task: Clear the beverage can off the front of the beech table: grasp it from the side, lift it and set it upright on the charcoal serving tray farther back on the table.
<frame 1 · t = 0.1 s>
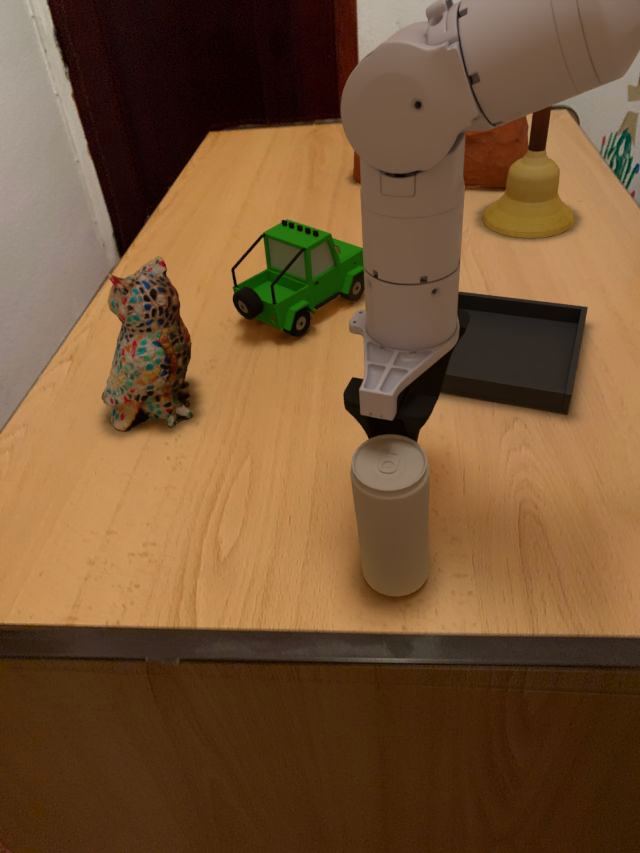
hand: (409, 432, 48), 8 cm above the table, tool pointing down, fingers open, 7 cm apart
toy car: (302, 312, 77), on the table
tray: (497, 354, 67), on the table
beverage can: (395, 572, 48), on the table, touching gripper
figurine: (160, 406, 65), on the table
handbell: (527, 219, 90), on the table
bread: (439, 172, 105), on the table
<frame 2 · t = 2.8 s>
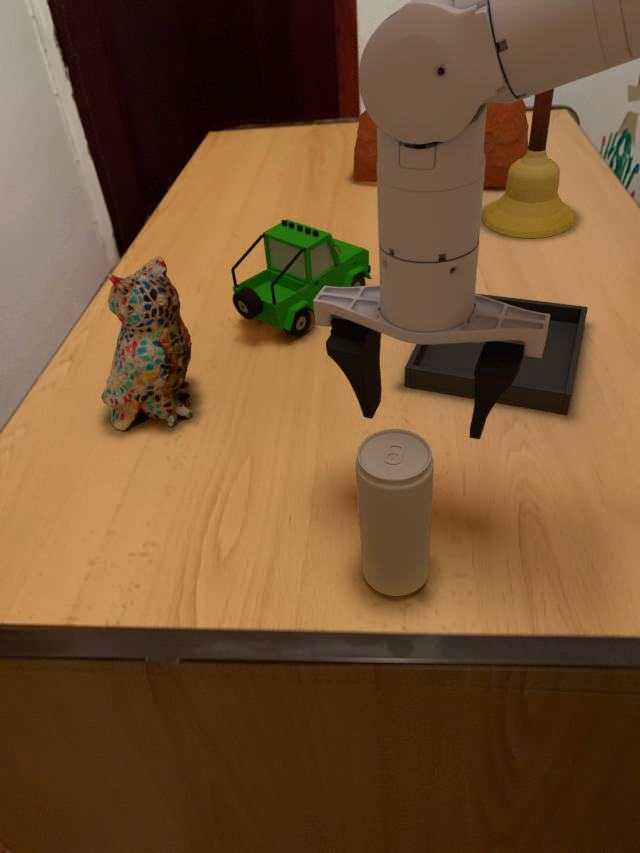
hand: (423, 419, 47), 9 cm above the table, tool pointing down, fingers open, 7 cm apart
beverage can: (395, 574, 48), on the table
everything else where it was.
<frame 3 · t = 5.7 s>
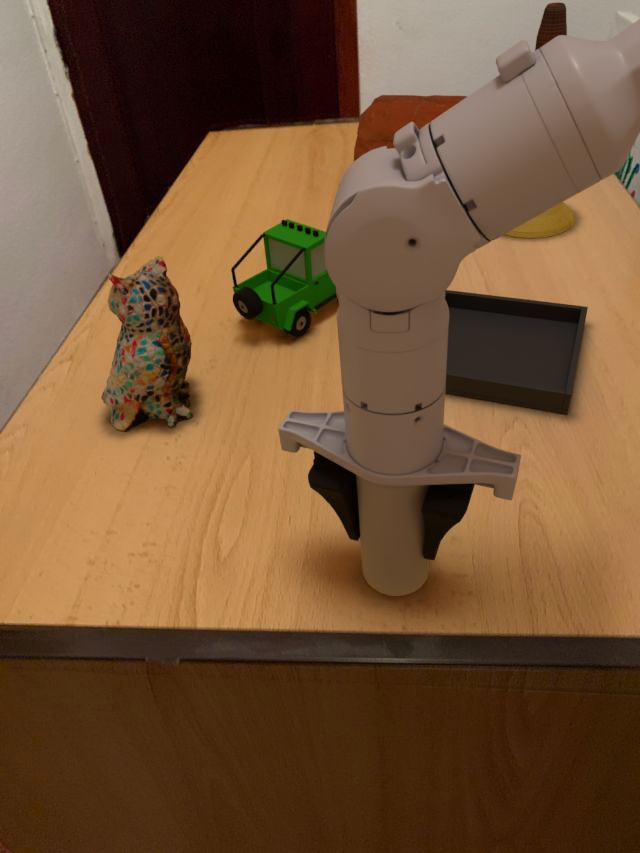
hand: (395, 539, 45), 4 cm above the table, tool pointing down, fingers closed on beverage can, 5 cm apart
beverage can: (395, 574, 48), on the table, touching gripper
everything else where it was.
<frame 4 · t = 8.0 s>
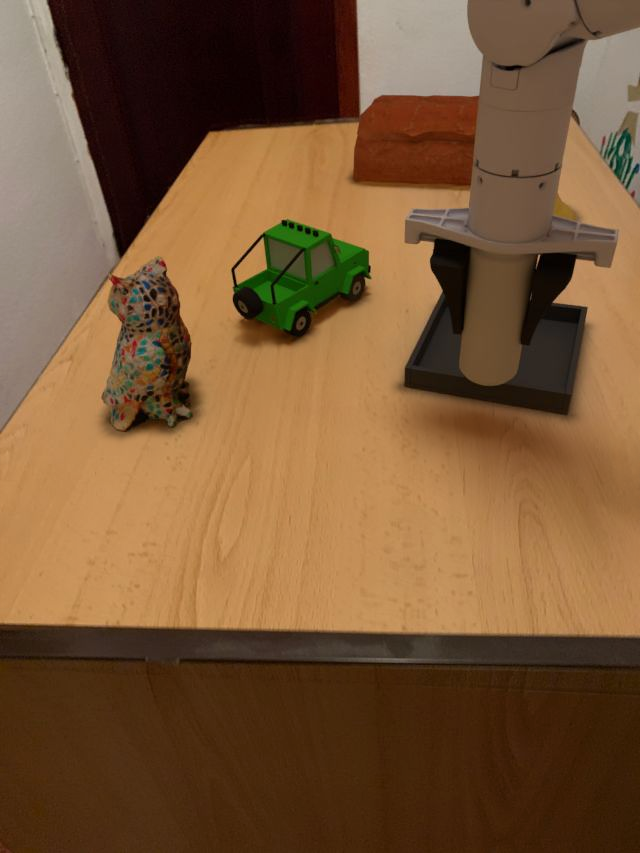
hand: (493, 332, 52), 10 cm above the table, tool pointing down, fingers closed on beverage can, 5 cm apart
beverage can: (487, 372, 55), point 6 cm above the table, touching gripper
everything else where it was.
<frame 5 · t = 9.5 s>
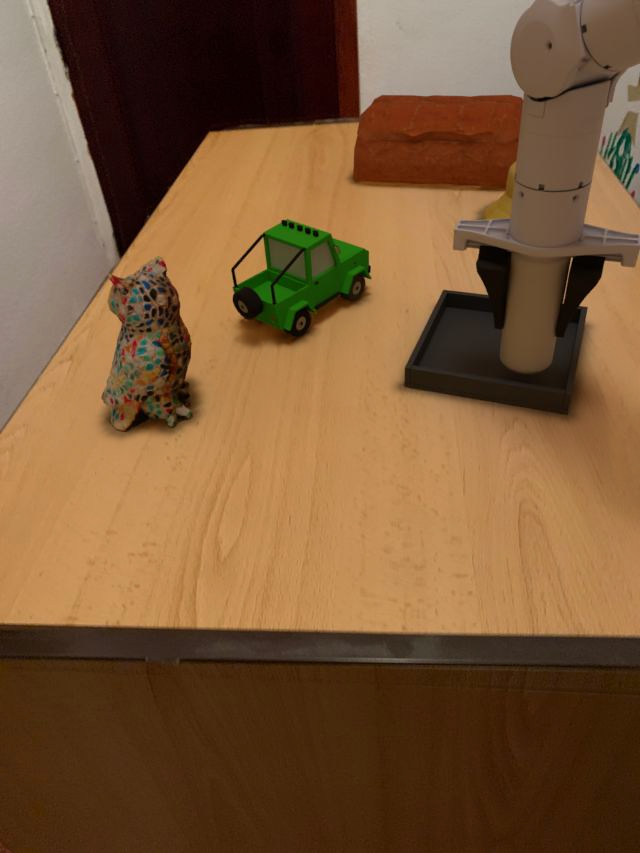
hand: (530, 327, 60), 6 cm above the table, tool pointing down, fingers closed on beverage can, 5 cm apart
beverage can: (524, 363, 62), point 2 cm above the table, touching gripper
everything else where it was.
when the fingers open (4 cm above the table, at t = 10.6 s): beverage can stays where it is, resting on tray.
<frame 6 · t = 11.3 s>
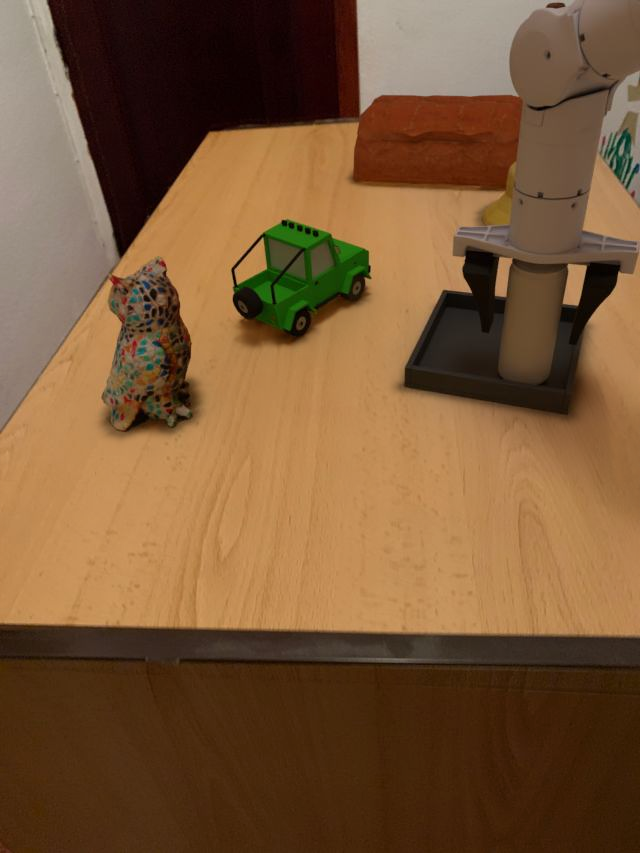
hand: (529, 332, 60), 5 cm above the table, tool pointing down, fingers open, 7 cm apart
beverage can: (522, 376, 63), resting on tray
everything else where it was.
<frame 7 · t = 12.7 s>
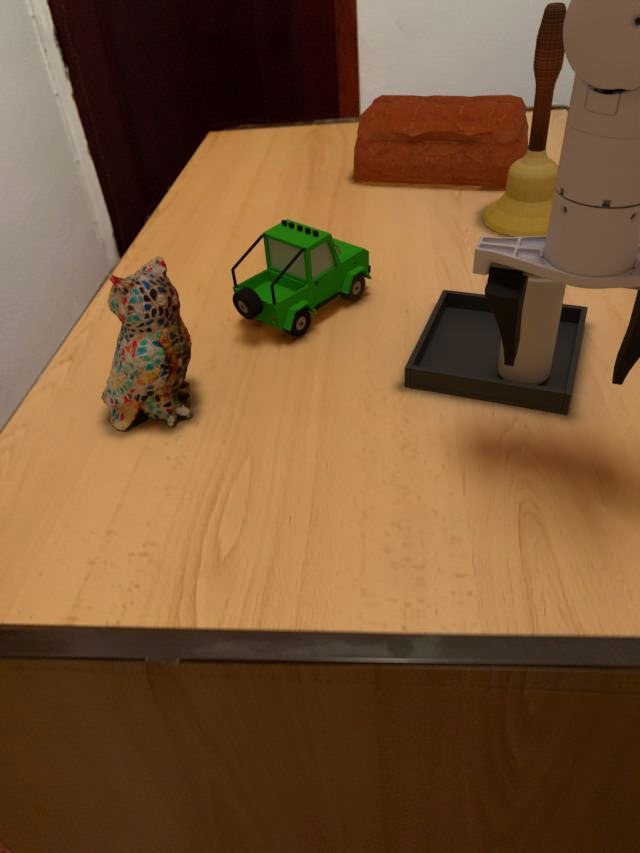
hand: (562, 367, 49), 9 cm above the table, tool pointing down, fingers open, 7 cm apart
nothing on the table moved.
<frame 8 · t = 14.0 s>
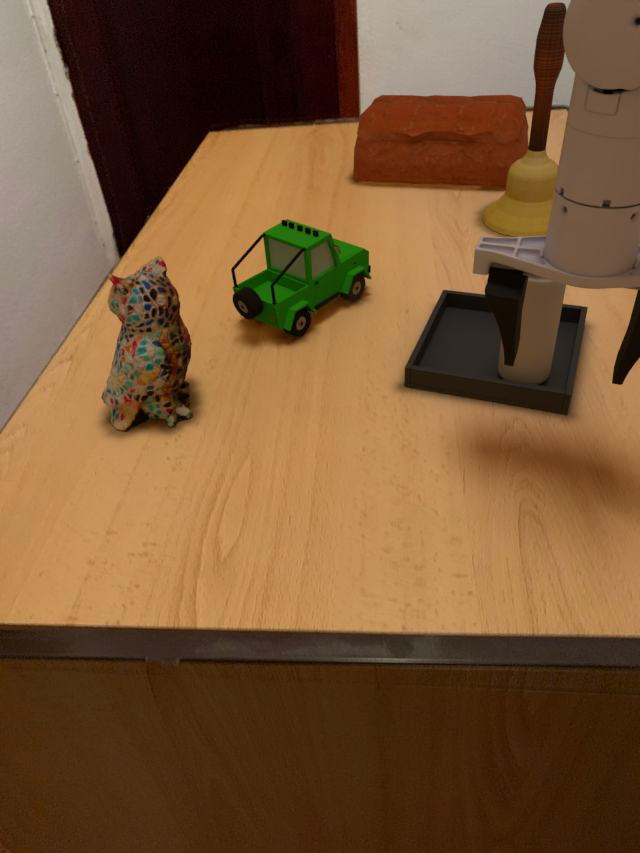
hand: (562, 367, 49), 9 cm above the table, tool pointing down, fingers open, 7 cm apart
nothing on the table moved.
at the end: beverage can inside the target area in the tray (4.5 cm from its centre), point 0.3 cm above the tray's base; beverage can tilted 0°; the gripper is holding nothing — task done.
